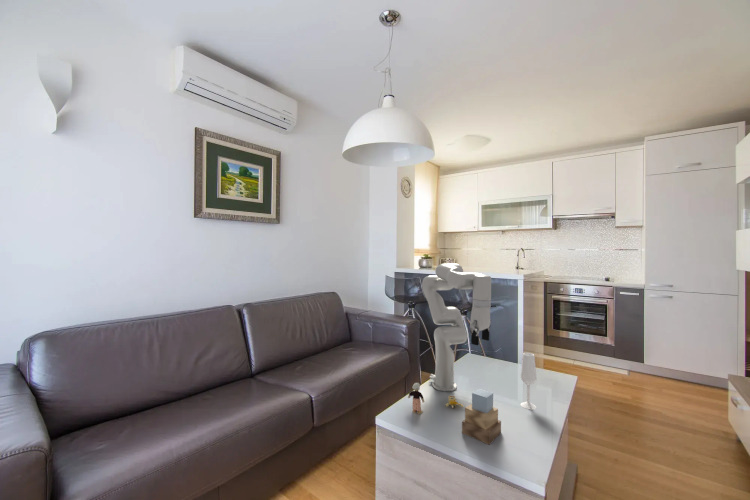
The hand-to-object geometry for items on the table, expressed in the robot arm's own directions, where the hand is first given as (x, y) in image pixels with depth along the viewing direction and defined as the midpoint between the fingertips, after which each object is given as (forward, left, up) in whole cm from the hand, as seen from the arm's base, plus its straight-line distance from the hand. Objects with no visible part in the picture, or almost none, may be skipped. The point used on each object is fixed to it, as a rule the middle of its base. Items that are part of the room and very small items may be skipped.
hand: (480, 342), depth 139 cm
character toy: (-13, -2, -33) cm, 35 cm away
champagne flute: (+12, +24, -32) cm, 42 cm away
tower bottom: (+7, -12, -32) cm, 35 cm away
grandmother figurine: (-22, -17, -32) cm, 42 cm away
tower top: (+7, -12, -27) cm, 31 cm away
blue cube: (+7, -12, -22) cm, 26 cm away
